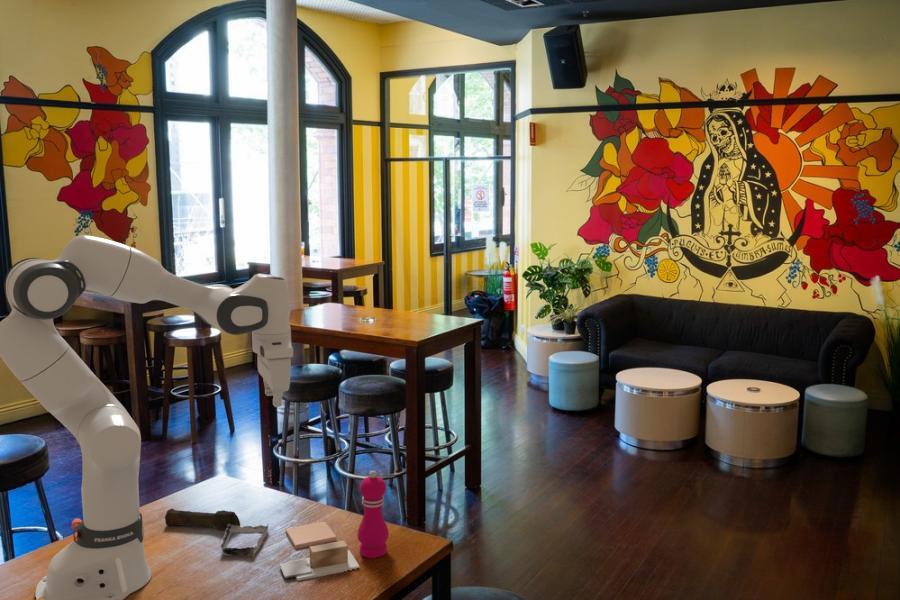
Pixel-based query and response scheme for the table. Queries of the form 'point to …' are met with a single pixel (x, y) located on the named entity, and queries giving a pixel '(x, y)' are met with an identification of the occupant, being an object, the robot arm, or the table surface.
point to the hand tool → (202, 519)
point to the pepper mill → (373, 517)
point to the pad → (330, 568)
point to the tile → (310, 534)
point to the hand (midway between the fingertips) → (273, 400)
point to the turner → (317, 559)
